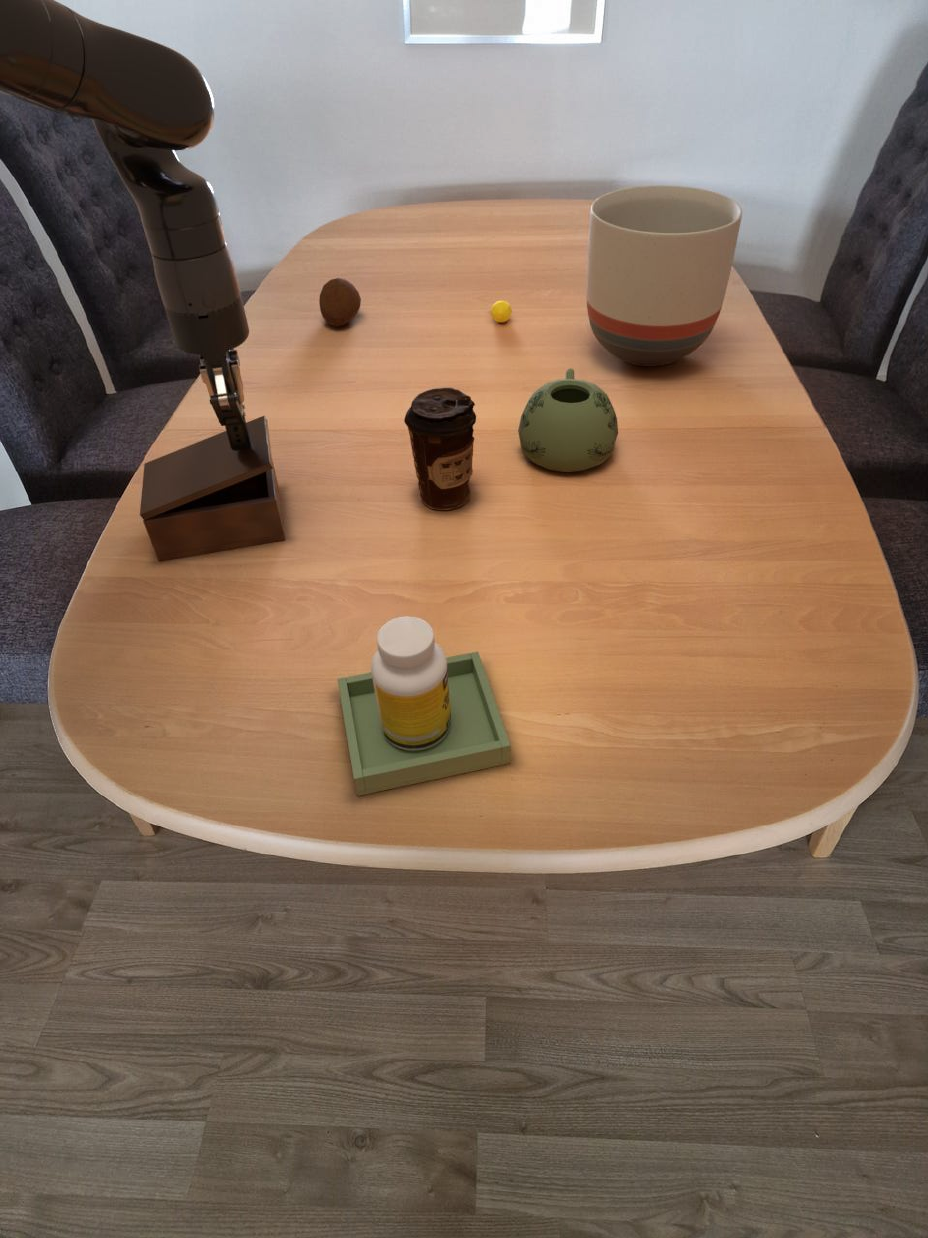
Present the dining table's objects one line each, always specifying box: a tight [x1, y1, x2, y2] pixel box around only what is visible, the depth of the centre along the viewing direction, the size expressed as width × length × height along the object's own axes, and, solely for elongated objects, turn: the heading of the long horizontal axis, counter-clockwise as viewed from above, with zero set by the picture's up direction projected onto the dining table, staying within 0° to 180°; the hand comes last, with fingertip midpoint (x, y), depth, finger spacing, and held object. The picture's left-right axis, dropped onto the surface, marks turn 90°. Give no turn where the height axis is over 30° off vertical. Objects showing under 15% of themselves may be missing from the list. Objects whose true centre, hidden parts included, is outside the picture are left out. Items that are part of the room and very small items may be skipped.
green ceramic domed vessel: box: [517, 367, 619, 473], centre depth 105 cm, size 16×13×9 cm
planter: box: [585, 184, 743, 367], centre depth 118 cm, size 20×20×21 cm
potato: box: [318, 277, 362, 327], centre depth 136 cm, size 7×10×7 cm
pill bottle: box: [370, 615, 451, 751], centre depth 70 cm, size 6×6×12 cm
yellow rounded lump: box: [490, 300, 513, 323], centre depth 136 cm, size 3×6×4 cm, turn 2°
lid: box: [139, 415, 274, 520], centre depth 92 cm, size 16×11×1 cm
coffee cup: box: [403, 387, 477, 511], centre depth 96 cm, size 9×8×13 cm
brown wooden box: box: [142, 459, 286, 562], centre depth 96 cm, size 15×11×6 cm
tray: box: [336, 651, 512, 797], centre depth 73 cm, size 14×12×3 cm
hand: (241, 446), depth 91 cm, fingers closed
